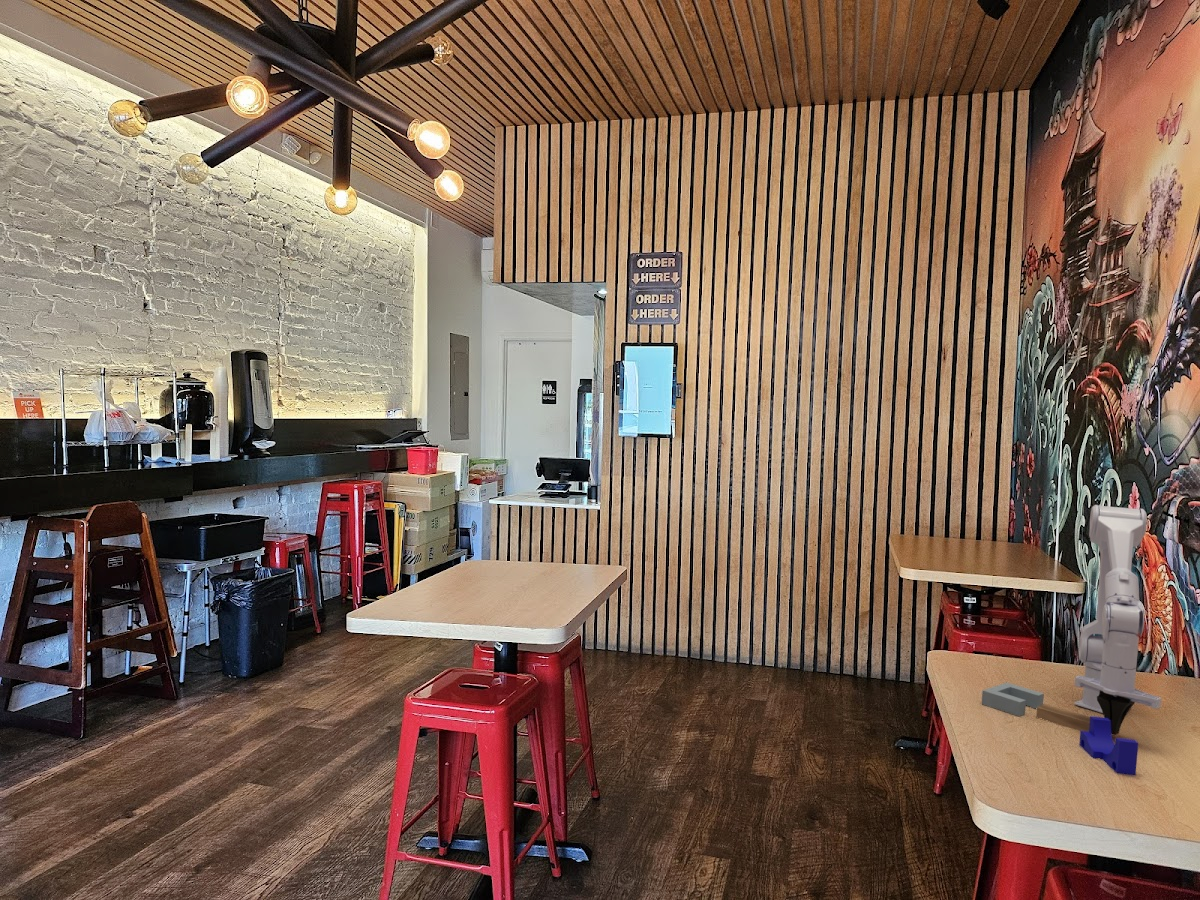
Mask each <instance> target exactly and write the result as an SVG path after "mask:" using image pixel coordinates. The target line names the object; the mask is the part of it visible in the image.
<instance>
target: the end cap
mask: <svg viewBox="0 0 1200 900" xmlns="http://www.w3.org/2000/svg"><path fill="white" fill-rule="evenodd" d="M1044 696H1045V693H1043V692H1040V691H1037V690H1034V689H1030V688H1027V687H1024V686H1021V685H1018V684H1017V685H1016V684H1013V683H1010V682H1003V683H1001V684H998V685H995V686H992V687H988V688H986V689H982V691H981V705H983V706H985V707H989V708H993V709H995V708H996V709H995V710H998V709H999V711H1001V710H1002V711H1001V712H1004V711H1005V712H1004V713H1007V714H1010V713H1011V715H1014V716H1016V715H1017V716H1016V717H1022V716H1023V714H1024V715H1025V714H1026V705H1027V707H1029V706H1030V707H1029V708H1032V707H1033V708H1032V709H1035V708H1037V707H1039V706H1041V705H1043V704H1044ZM1021 715H1022V716H1021Z"/></svg>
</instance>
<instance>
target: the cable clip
mask: <svg viewBox="0 0 1200 900" xmlns="http://www.w3.org/2000/svg"><path fill="white" fill-rule="evenodd" d="M1089 717H1090V725H1089V732H1088V731H1080V733H1079V743H1078V745H1079V746H1080V747H1081V748H1082V749H1083V750H1084V751H1085V752H1086V753H1087V754H1088V755H1089V756H1090V757H1091V758H1092V757H1093V758H1092V759H1096V758H1100V759H1099V760H1102V759H1103V760H1104V761H1105V762H1106V763H1107V764H1106V765H1107V766H1108V767H1110V768H1111V770H1113V771H1114V772H1115V774H1118V775H1119V774H1120V775H1128V776H1135V777H1136V775H1137V765H1138V763H1137V762H1138V752H1139V751H1138V750H1139V742H1138V741H1136V739H1131V738H1120V737H1115V740H1113V734H1111V721H1110V720H1109V719H1108V718H1104V716H1103V717H1101V716H1091V715H1090V716H1089ZM1114 741H1115V742H1114ZM1103 760H1102V761H1103ZM1104 761H1103V762H1104ZM1105 762H1104V763H1105Z"/></svg>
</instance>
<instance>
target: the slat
mask: <svg viewBox="0 0 1200 900" xmlns="http://www.w3.org/2000/svg"><path fill="white" fill-rule="evenodd" d="M1035 717H1038V718H1037V719H1039V718H1042V719H1044V720H1043V721H1046V720H1048V721H1047V722H1049V721H1050V722H1049V723H1052V722H1053V724H1056V725H1060V726H1063V727H1066V728H1070V729H1073V730H1077V731H1078V732H1079V731H1088V732H1089V725H1090V716H1089V715H1085V714H1081V713H1078V712H1075V711H1071V710H1067V709H1064V708H1060V707H1057V706H1054V705H1050V704H1047V703H1043V705H1041V706H1039V707H1037V709H1036V715H1035ZM1042 719H1041V720H1042Z"/></svg>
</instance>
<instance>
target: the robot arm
mask: <svg viewBox="0 0 1200 900" xmlns="http://www.w3.org/2000/svg"><path fill="white" fill-rule="evenodd" d="M1089 516H1090V517H1089V534H1088V535H1089V538H1090V539H1089V541H1090V542H1091V543H1094V545H1095V544H1096V545H1097V546H1098V550H1099V553H1100V561H1099V576H1098V577H1099V578H1098V590H1097V591H1098V594H1097V605H1096V606H1097V607H1096V608H1097V609H1096V619H1095V620H1093V621H1092V622H1089V623H1087V624H1085V625H1084V626H1082V628H1081V630H1080V637H1079V644H1078V659H1079V661H1080V662H1081V663H1083V664H1085V665H1084V674H1083V675H1084V676H1082V675H1077V676H1075V678H1074V687H1076V688H1082V689H1083V690H1082V699H1079V700H1076V701H1074V703H1073V704H1074V705H1075V706H1079V707H1082V708H1085V709H1088V710H1092V711H1094V712H1098V713H1102V714H1103V718H1108V719H1109V720H1110V721H1111V734H1112V736H1113V735H1114V736H1116V735H1118V734H1120V730H1121V727H1122V724H1123V722H1124V719H1125V718H1126V716H1127V714H1128V713H1129V711H1130V710H1131V709H1132V707H1133V706H1134V705H1135V703H1136V704H1140V705H1145V706H1147V707H1150V708H1151V709H1155V710H1158V709H1161V705H1162V697H1160V696H1156V695H1153V694H1151V693H1148V692H1145V691H1142V690H1140V689H1137V688H1135V686H1136V685H1135V684H1136V673H1137V661H1138V660H1137V659H1138V651H1139V641H1140V639H1139V636H1140V637H1142V634H1143V632H1144V629H1145V627H1144V626H1145V612H1144V611H1145V610H1144V607H1143V602H1142V601H1140V587H1139V577H1138V576H1137V575H1136V574H1135V573H1134V572H1132V565H1133V562H1132V561H1133V551H1134V548H1135V547H1138V546H1139V545H1140V543H1142V540H1143V538H1144V537H1145V535H1146V532H1147V525H1148V523H1147V522H1148V517H1147V512H1146V511H1145V509H1144V508H1129V507H1120V506H1119V507H1117V506H1109V505H1108V506H1107V505H1105V506H1104V505H1099V504H1094V505H1093V506H1092V507H1091V509H1090V515H1089ZM1100 635H1101V636H1100ZM1138 635H1139V636H1138Z"/></svg>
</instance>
